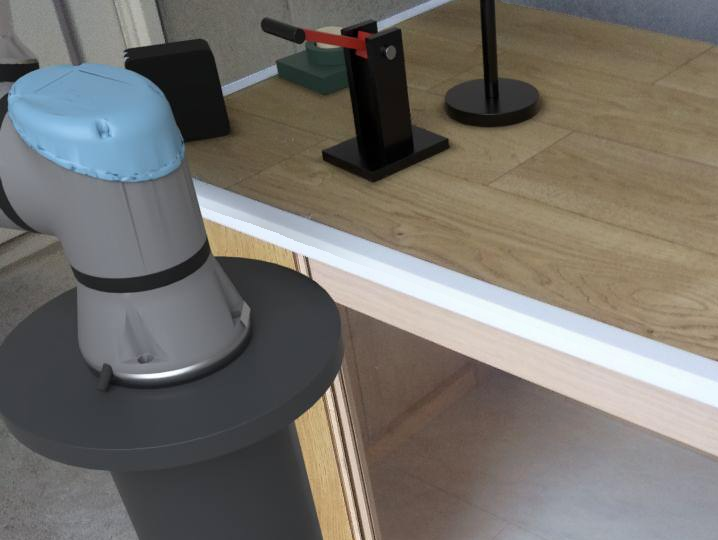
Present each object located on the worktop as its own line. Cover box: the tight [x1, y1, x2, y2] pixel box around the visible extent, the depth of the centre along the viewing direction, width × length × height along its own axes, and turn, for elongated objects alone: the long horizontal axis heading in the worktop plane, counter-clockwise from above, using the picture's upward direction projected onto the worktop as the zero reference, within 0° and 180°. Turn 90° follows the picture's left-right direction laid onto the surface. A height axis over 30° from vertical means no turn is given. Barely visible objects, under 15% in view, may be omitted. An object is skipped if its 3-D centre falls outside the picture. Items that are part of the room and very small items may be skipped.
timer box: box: [275, 41, 349, 96], centre depth 134 cm, size 12×10×4 cm
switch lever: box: [260, 16, 373, 58], centre depth 104 cm, size 14×6×2 cm, turn 138°
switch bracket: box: [321, 18, 450, 183], centre depth 112 cm, size 12×9×14 cm
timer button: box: [315, 25, 344, 48], centre depth 132 cm, size 4×4×2 cm
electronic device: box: [121, 38, 232, 143], centre depth 118 cm, size 4×10×10 cm, turn 112°
